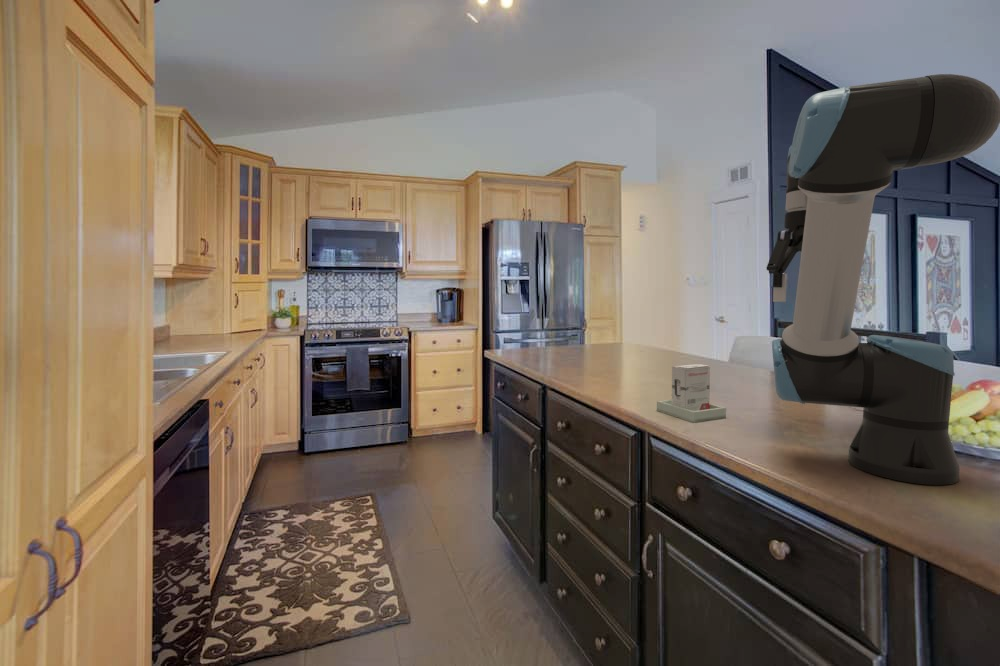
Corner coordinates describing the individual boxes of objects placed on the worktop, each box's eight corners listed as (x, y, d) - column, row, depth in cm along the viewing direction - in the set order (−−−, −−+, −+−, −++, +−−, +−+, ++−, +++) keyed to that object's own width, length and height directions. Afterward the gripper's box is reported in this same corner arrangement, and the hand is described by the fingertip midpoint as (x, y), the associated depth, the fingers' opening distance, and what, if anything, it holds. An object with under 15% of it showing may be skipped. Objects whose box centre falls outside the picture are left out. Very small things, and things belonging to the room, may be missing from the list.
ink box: (694, 407, 129) (695, 363, 128) (710, 412, 124) (711, 365, 123) (669, 411, 125) (671, 365, 124) (685, 416, 121) (686, 368, 120)
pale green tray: (725, 417, 121) (726, 407, 121) (693, 422, 117) (693, 412, 117) (687, 406, 133) (687, 397, 133) (656, 410, 128) (656, 401, 128)
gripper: (821, 216, 124) (816, 300, 126) (752, 210, 114) (748, 301, 116) (853, 211, 117) (847, 301, 119) (782, 205, 107) (777, 302, 109)
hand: (798, 301), depth 117 cm, fingers open, 13 cm apart
